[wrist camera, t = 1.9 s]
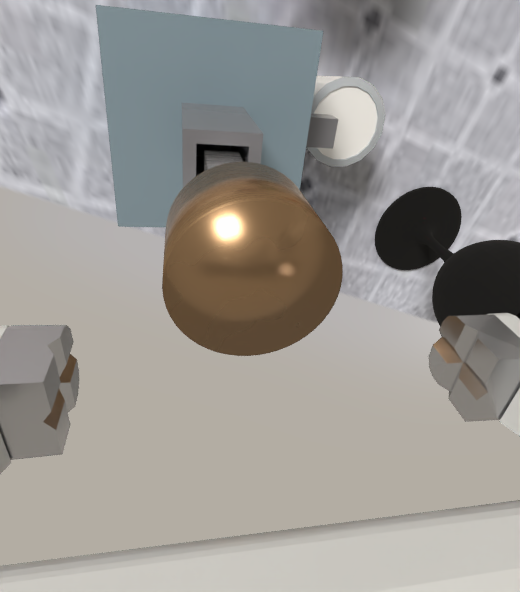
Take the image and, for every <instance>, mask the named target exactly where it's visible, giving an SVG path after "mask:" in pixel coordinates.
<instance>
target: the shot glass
mask: <svg viewBox="0 0 520 592" xmlns="http://www.w3.org/2000/svg"><path fill="white" fill-rule="evenodd" d="M311 113H313V114H326V115H332V116H334V117H336V118H337V119H338V124H337V130H336V135H335V141H334V146H333V149H331V148H314V147H307V149H308V150H309V151H310V153H311V154H312V155H313V156H314V157H315V159H316V160H317V161H319V162H321V163H323V164H326V165H328V166H330V167H346V166H348V165H351V164H353V163H356V162H358V161H360V160H362V159H363V158H364V157H365V156H366V155H367V154H368V153H369V152H370V151H371V150H373V148H374V147H375V145H376V143H377V141H378V139H379V138H380V136H381V134H382V130H383V125H384V120H385V111H384V105H383V99H382V97H381V96H380V94H379V93H378V91H377V90H376V88H375V87H374V85H372V84H371V83H369V82H367V81H365V80H364V79H362V78H360V77H336V76H317V77H316V84H315V91H314V97H313V104H312V111H311Z"/></svg>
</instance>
